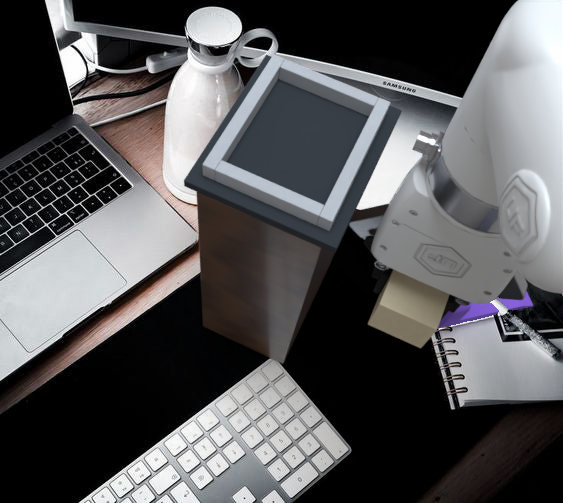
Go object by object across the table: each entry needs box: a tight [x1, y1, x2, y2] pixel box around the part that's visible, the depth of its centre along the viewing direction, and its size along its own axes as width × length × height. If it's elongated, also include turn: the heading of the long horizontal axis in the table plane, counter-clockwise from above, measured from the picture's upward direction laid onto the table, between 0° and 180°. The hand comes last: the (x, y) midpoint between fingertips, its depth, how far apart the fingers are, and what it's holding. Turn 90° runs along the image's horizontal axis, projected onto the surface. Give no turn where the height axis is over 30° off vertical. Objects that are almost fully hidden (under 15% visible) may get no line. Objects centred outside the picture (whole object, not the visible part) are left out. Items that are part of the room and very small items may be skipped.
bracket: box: [438, 290, 534, 328], centre depth 72 cm, size 12×7×7 cm, turn 105°
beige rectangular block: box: [367, 269, 450, 349], centre depth 53 cm, size 5×9×4 cm, turn 155°
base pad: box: [183, 54, 402, 254], centre depth 46 cm, size 12×14×2 cm
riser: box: [196, 192, 335, 365], centre depth 60 cm, size 10×14×28 cm
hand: (411, 292), depth 55 cm, fingers closed on beige rectangular block, 5 cm apart
